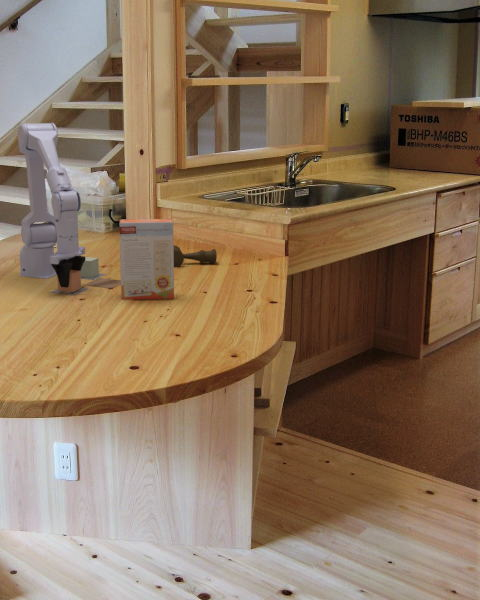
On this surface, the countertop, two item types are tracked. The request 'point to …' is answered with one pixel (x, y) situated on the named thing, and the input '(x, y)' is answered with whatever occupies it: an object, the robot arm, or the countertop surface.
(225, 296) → the countertop surface
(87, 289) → the tile
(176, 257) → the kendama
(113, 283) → the walnut coaster
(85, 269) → the sage block
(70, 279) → the rust block
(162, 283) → the cracker box
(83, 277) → the gray coaster
